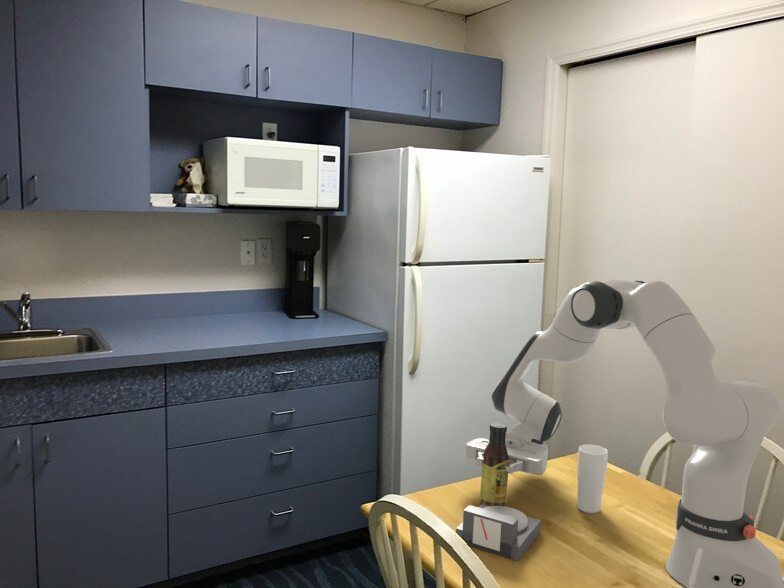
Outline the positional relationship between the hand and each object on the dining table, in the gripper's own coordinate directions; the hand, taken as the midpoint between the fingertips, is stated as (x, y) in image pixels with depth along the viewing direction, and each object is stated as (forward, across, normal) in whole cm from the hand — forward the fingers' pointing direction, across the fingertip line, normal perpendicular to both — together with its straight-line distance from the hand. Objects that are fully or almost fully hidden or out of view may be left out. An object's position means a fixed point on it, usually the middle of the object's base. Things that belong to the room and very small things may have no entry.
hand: (493, 466), depth 159 cm
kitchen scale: (+13, +7, +10) cm, 18 cm away
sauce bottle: (-1, 0, +10) cm, 10 cm away
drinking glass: (-12, +20, +10) cm, 25 cm away
